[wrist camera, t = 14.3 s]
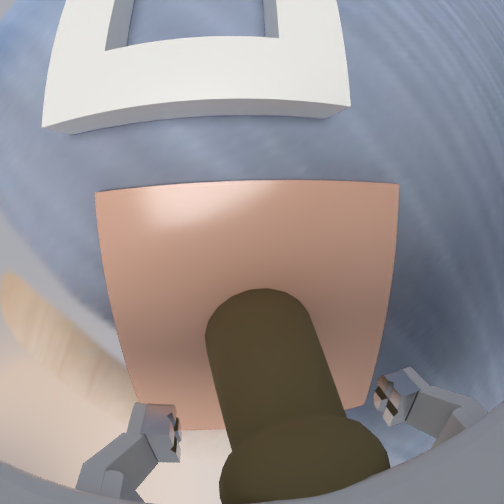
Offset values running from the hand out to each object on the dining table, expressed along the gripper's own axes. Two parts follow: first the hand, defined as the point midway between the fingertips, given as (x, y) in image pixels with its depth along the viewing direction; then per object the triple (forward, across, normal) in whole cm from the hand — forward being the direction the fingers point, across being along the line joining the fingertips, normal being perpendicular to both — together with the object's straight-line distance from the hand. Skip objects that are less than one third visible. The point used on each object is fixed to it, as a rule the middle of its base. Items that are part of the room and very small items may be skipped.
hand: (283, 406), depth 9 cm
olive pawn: (+6, 0, 0) cm, 6 cm away
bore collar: (+6, +3, -18) cm, 19 cm away
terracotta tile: (+6, 0, 0) cm, 6 cm away
